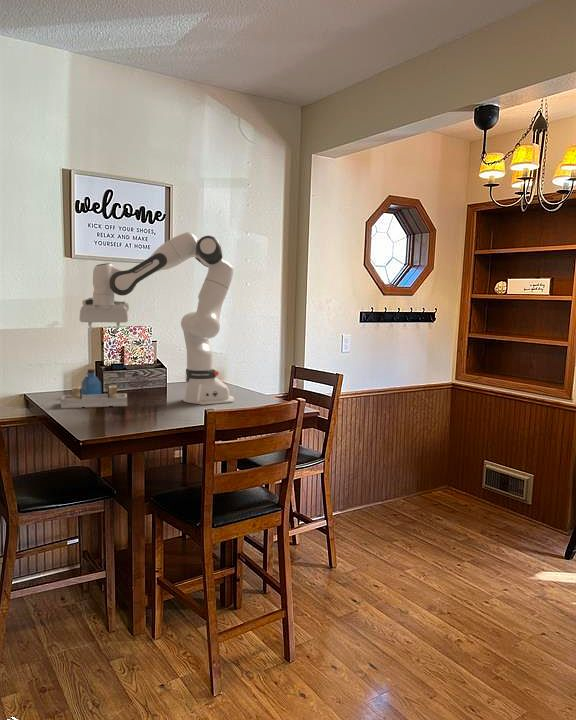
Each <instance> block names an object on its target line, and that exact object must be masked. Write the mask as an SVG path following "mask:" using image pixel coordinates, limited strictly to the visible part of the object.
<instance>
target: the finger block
mask: <svg viewBox="0 0 576 720" xmlns="http://www.w3.org/2000/svg"><path fill="white" fill-rule="evenodd" d="M71 393H72V394H71V395H72V399H82V385H81V386H77V385H76V386H72V389H71Z"/></svg>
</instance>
